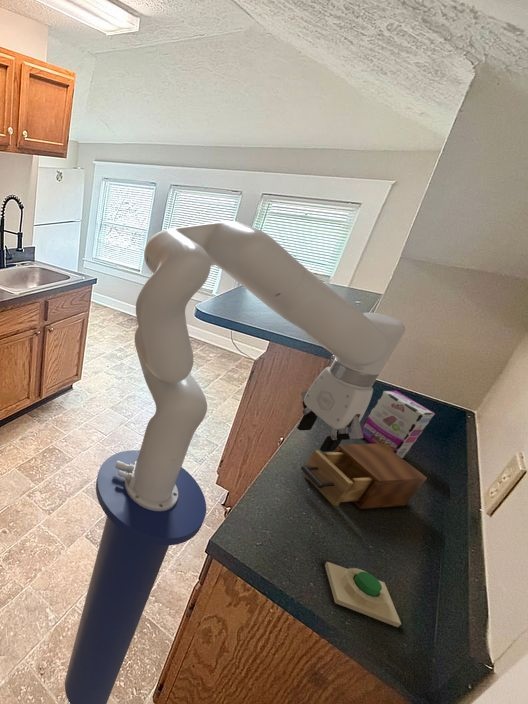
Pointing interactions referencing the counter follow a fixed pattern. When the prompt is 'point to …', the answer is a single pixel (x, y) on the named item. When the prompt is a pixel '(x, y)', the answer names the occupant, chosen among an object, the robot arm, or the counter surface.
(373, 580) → the button
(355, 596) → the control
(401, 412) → the candy bar box
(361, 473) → the drawer
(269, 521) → the counter surface
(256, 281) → the robot arm
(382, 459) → the cabinet
